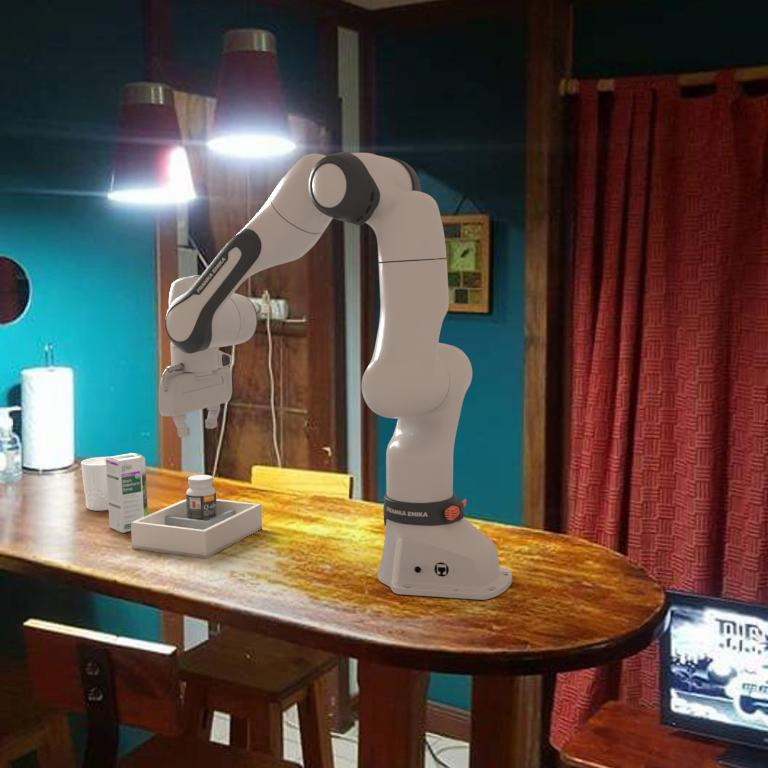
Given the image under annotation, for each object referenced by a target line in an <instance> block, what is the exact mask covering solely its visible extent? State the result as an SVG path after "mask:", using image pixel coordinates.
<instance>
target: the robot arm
mask: <svg viewBox="0 0 768 768" xmlns="http://www.w3.org/2000/svg"><path fill="white" fill-rule="evenodd" d="M333 219H334V220H337V221H341V222H345V223H348V224H352V225H355V226H359V227H360V226H362V225H364V224H367V225H368V226H370V228H371V229H372V230H373V231H374V234H375V236H376V242H377V255H378V256H377V259H378V260H377V261H378V280H379V299H380V300H379V301H380V303H379V305H380V309H379V321H378V329H377V333H376V338H375V339H376V340H375V346H374V350H373V353H372V356H371V357H372V358H371V360H370V362H369V364H368V366H367V367H366V369H365V371H364V373H363V375H362V379H361V393H362V397H363V399H364V402H365V403H366V406H367V407H368V408H369V409H370V410H371V411H372V412H373V413H375V414H376V415H378V416H380V417H383V418H387V419H397V421H396V425H395V428H394V431H393V435H392V437H391V439H390V440H389V442H388V444H387V448H386V452H385V455H386V456H385V459H386V460H385V464H386V465H385V466H386V467H385V468H386V469H385V471H386V472H385V473H386V474H385V475H386V476H385V478H386V480H385V482H386V483H385V484H386V488H385V489H386V492H385V494H384V495H383V506H382V507H383V510H382V511H383V513H382V514H383V524H384V527H385V529H384V531H385V532H384V542H383V549H382V553H381V560H380V564H379V569H378V571H377V575H376V576H377V580H379V582H380V583H382V584H384V585H385V586H387V587H390V589H391V591H392V592H393V593H394V594H396V595H406V596H420V597H423V596H424V597H436V598H437V597H438V598H448V599H449V598H450V599H463V600H464V599H466V600H482V601H485V600H489V599H493V598H495V597H497V596H500V595H502V594H503V593H504V592H506V590H508V588H510V586H511V585H512V583H513V573H512V571H511V570H510V569H509V568H505V567H502V566H500V562H499V555H498V551H497V547H496V545H495V543H494V541H493V540H492V539H491V538H489V537H488V536H487V535H485V534H484V533H483V532H482V531H480V530H479V529H478V528H477V527H476V526H474V524H472V523H471V522H470V521H469V520H468V519H466V518H465V517H464V515H465V507H466V506H467V499H466V498H464V499H463V500H462V501H461V500H460V499H459V498H458V497H457V496H456V495H455V493H454V451H455V449H454V448H455V441H456V436H457V432H458V431H457V430H458V427H459V421H460V417H461V412H462V409H463V408H462V407H463V404H464V403H463V402H464V399H465V395H466V393H467V391H468V389H469V387H470V386H471V383H472V380H473V367H472V363H471V361H470V359H469V357H468V356H467V355H466V353H465V352H464V351H463V350H462V349H460V348H458V347H457V346H455V345H450V344H447V343H443V342H442V343H441V342H440V341H439V340H440V335H441V334H440V333H441V329H442V325H443V322H444V319H445V317H446V315H447V313H448V311H449V307H450V296H449V279H448V278H449V277H448V276H449V275H448V262H447V246H446V237H445V232H444V225H443V222H442V217H441V213H440V208H439V205H438V203H437V201H436V199H434V198H433V197H432V196H431V195H429V194H428V193H425V192H423V191H421V183H420V179H419V176H418V175H417V171H415V169H414V167H412V166H411V165H409V164H408V163H407V162H405V161H403V160H401V159H398V158H396V157H390V156H387V157H386V156H383V155H377V154H375V153H371V152H346V151H340V152H336V153H335V152H334V153H331V154H329V155H324V154H321V153H308V154H306V155H304V156H303V157H301V158H300V159H298V160H297V162H296V163H294V165H292V166H291V168H290V169H289V170H288V171H287V172H286V173H285V175H283V176H282V178H281V180H280V181H279V183H278V184H277V185H276V186H275V187H274V190H273V191H272V193H271V194H270V196H269V197H268V198H267V200H266V202H265V203H264V205H263V206H262V207H261V208H260V209H259V211H258V212H257V213H256V214H255V215H254V216H253V218H252V219H251V220H250V221H249V222H248V223H247V224H246V225H245V226H244V227H242V229H240V231H238V232H237V233H236V234H235V235H234V236H233V237H232V238H231V239H230V240H229V241H228V242H227V243H226V244H225V245H224V246H223V247H222V248H221V250H220V252H218V254H217V255H216V256H215V258H213V260H212V261H211V262H210V264H208V266H207V267H206V269H205V270H204V271H203V272H202V274H197V275H190V276H183V277H179V278H177V279H176V280H174V281H173V282H172V283H171V286H170V290H169V294H168V309H167V311H166V315H165V319H164V325H165V326H164V328H165V332H166V335H167V336H168V338H169V340H170V361H171V362H170V365H168V366H167V367H166V368H165V369H164V371H163V372H162V374H161V378H160V381H159V387H158V412H159V414H160V415H161V416H162V417H172V421H173V423H174V425H175V427H176V428H177V437H178V438H186V437H190V435H191V432H190V431H191V430H190V429H191V427H190V426H188V425H187V423H186V420H187V414H190V413H192V412H197V411H199V410H203V409H207V410H208V412H207V413H208V414H207V418H206V419H205V420H204V424H205V426H204V427H205V428H206V429H211V430H212V429H215V428H217V426H218V420H217V419H218V417H219V414H220V411H221V404H225V403H228V402H230V400H231V399H232V395H233V377H232V370H231V368H230V366H231V365H232V364H233V357H232V355H231V354H229V353H226V352H224V351H222V350H219V349H218V348H223V347H229V346H235V345H241V344H243V343H246V342H248V341H250V340H251V339H252V338H253V336H254V335H255V334H256V331H257V329H258V322H259V321H258V320H259V319H258V313H257V309H256V307H255V305H254V303H253V302H252V300H251V299H250V298H248V296H245V295H244V294H239V293H236V291H237V290H238V288H239V287H240V285H242V284H243V283H244V282H245V281H246V280H248V279H249V278H250V277H251V276H253V275H256V274H257V273H259V272H261V271H264V270H267V269H270V268H272V267H276V266H279V265H283V264H287V263H290V262H293V261H296V260H299V259H300V258H302V257H303V256H305V254H307V253H308V252H309V251H310V250H311V249H312V248H313V247H314V246H315V245H316V243H317V242H318V241H319V240H320V239H321V237H322V235H323V234H324V232H325V231H326V229H327V228H328V226H329V224H330V223H331V222H332V220H333Z"/></svg>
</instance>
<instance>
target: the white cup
mask: <svg viewBox="0 0 768 768" xmlns="http://www.w3.org/2000/svg"><path fill="white" fill-rule="evenodd" d="M107 457H108V456H99V457H98V456H97V457H90V458H86V459H83V460H82V461H81V463H80V464H81V472H82V473H81V474H82V485H83V493H84V497H85V507H86V509H87V510H90V511H96V512H99V511H109V506H108V490H107V474H106V458H107Z"/></svg>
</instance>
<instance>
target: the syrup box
mask: <svg viewBox="0 0 768 768" xmlns="http://www.w3.org/2000/svg"><path fill="white" fill-rule="evenodd" d="M106 457H107V458H106V474H107V490H108V506H109V510H108V519H109V528H111V529H113V530H115V531H117V532H119V533H121V534H125V533H128V532H131V522H133V521H135V520H138V519H140V518H142V517H145V516H147V515H149V508H148V491H147V490H148V487H147V471H146V470H147V469H146V468H147V467H146V457H145V456H143V455H142V454H139V453H133V452H129V453H125V454H119V455H114V456H106Z"/></svg>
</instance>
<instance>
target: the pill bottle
mask: <svg viewBox="0 0 768 768" xmlns="http://www.w3.org/2000/svg"><path fill="white" fill-rule="evenodd" d="M187 479H188V482H187V483H188V485H189V488H188V489H186V491H185V492H186V493H185V497H186V498H185V499H186V503H187V518H188V519H196V520H204V521H208V520H210V519H212V518H214V517H216V516H217V511H216V499H217V491H216V490H217V489H215V487H213V486H212V485H213V483H214V480H213V476H212V475H209V474H197V475H196V474H195V475H191V476H189V477H188V478H187Z"/></svg>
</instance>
